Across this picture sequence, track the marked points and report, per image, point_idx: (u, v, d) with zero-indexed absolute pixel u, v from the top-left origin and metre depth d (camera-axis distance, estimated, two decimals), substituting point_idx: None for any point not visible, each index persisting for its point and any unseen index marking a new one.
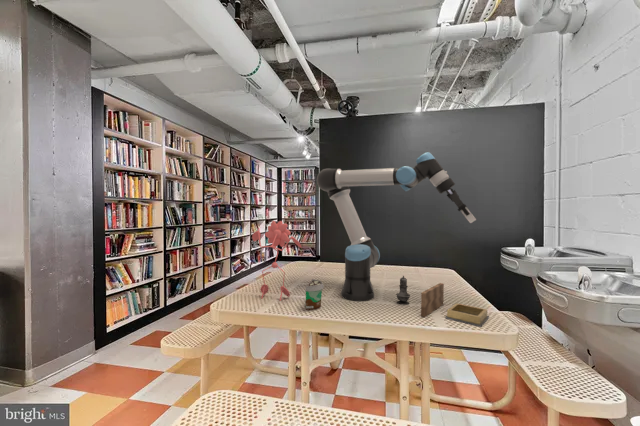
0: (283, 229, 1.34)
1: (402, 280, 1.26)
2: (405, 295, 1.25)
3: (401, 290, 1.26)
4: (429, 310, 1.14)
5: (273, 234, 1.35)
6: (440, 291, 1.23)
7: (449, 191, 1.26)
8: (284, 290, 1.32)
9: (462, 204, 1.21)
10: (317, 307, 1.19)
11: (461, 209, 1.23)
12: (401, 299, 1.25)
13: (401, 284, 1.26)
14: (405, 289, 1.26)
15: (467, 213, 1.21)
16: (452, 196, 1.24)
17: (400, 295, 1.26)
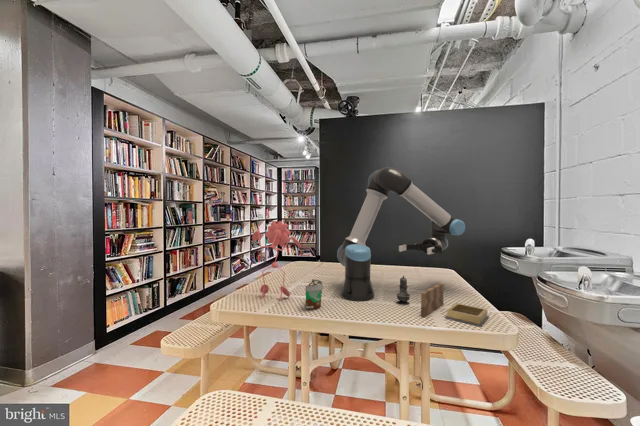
0: (283, 229, 1.34)
1: (402, 280, 1.26)
2: (405, 295, 1.25)
3: (401, 290, 1.26)
4: (429, 310, 1.14)
5: (273, 234, 1.35)
6: (440, 291, 1.23)
7: None
8: (284, 290, 1.32)
9: (441, 251, 1.34)
10: (317, 307, 1.19)
11: (436, 248, 1.34)
12: (401, 299, 1.25)
13: (401, 284, 1.26)
14: (405, 289, 1.26)
15: (434, 251, 1.32)
16: None
17: (400, 295, 1.26)
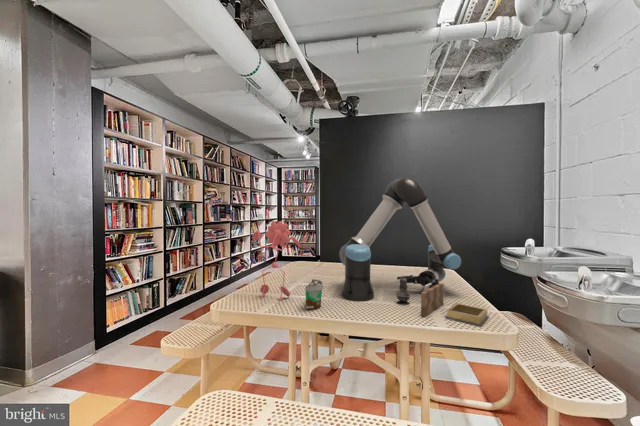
0: (283, 229, 1.34)
1: (402, 280, 1.26)
2: (405, 295, 1.25)
3: (401, 290, 1.26)
4: (429, 310, 1.14)
5: (273, 234, 1.35)
6: (440, 291, 1.23)
7: None
8: (284, 290, 1.32)
9: None
10: (317, 307, 1.19)
11: (434, 284, 1.31)
12: (401, 299, 1.25)
13: (401, 284, 1.26)
14: (405, 289, 1.26)
15: None
16: None
17: (400, 295, 1.26)
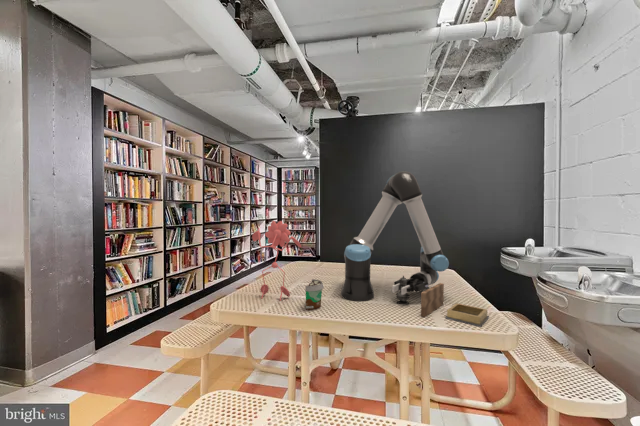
0: (283, 229, 1.34)
1: (402, 280, 1.26)
2: (405, 295, 1.25)
3: None
4: (429, 310, 1.14)
5: (273, 234, 1.35)
6: (440, 291, 1.23)
7: (427, 285, 1.31)
8: (284, 290, 1.32)
9: (417, 290, 1.26)
10: (317, 307, 1.19)
11: (411, 286, 1.26)
12: (401, 299, 1.25)
13: (401, 284, 1.26)
14: None
15: (409, 290, 1.24)
16: (423, 285, 1.29)
17: (400, 295, 1.26)
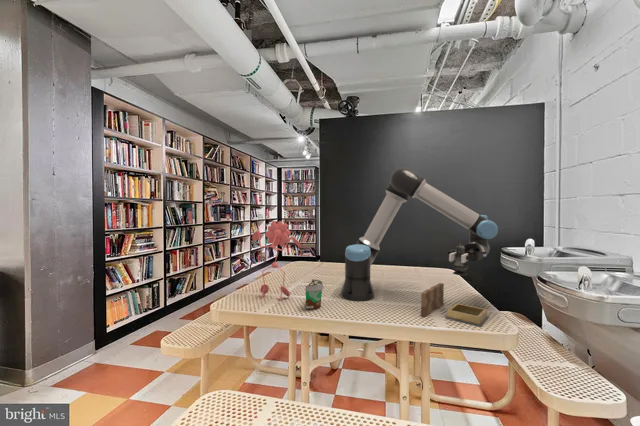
0: (283, 229, 1.34)
1: (460, 247, 1.12)
2: (464, 264, 1.11)
3: (458, 259, 1.12)
4: (429, 310, 1.14)
5: (273, 234, 1.35)
6: (440, 291, 1.23)
7: (485, 254, 1.16)
8: (284, 290, 1.32)
9: None
10: (317, 307, 1.19)
11: (470, 255, 1.11)
12: (459, 269, 1.11)
13: (458, 252, 1.12)
14: None
15: (469, 258, 1.09)
16: (482, 254, 1.15)
17: (458, 264, 1.11)
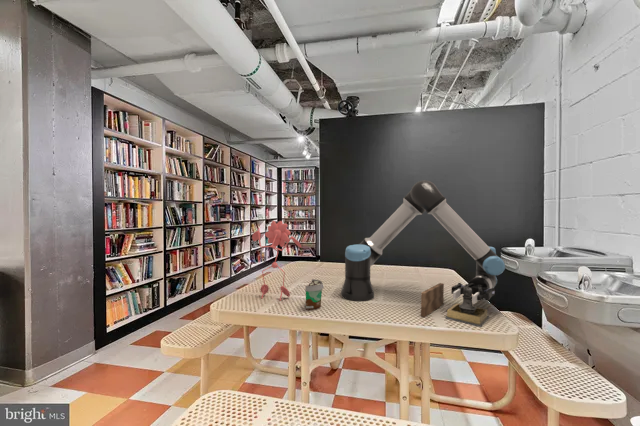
0: (283, 229, 1.34)
1: (467, 290, 1.09)
2: (471, 307, 1.08)
3: (466, 301, 1.09)
4: (429, 310, 1.14)
5: (273, 234, 1.35)
6: (440, 291, 1.23)
7: (494, 291, 1.14)
8: (284, 290, 1.32)
9: (488, 298, 1.08)
10: (317, 307, 1.19)
11: (481, 294, 1.08)
12: (466, 312, 1.08)
13: (466, 294, 1.09)
14: (470, 300, 1.09)
15: (480, 298, 1.06)
16: (491, 292, 1.12)
17: (465, 307, 1.09)
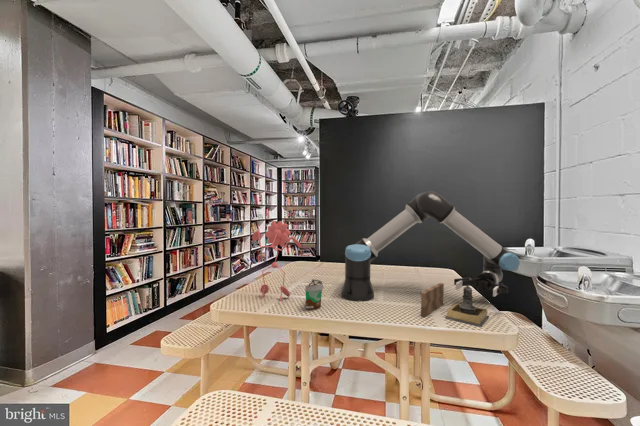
0: (283, 229, 1.34)
1: (467, 290, 1.09)
2: (471, 307, 1.08)
3: (466, 301, 1.09)
4: (429, 310, 1.14)
5: (273, 234, 1.35)
6: (440, 291, 1.23)
7: None
8: (284, 290, 1.32)
9: None
10: (317, 307, 1.19)
11: (501, 288, 1.17)
12: (466, 312, 1.08)
13: (466, 294, 1.09)
14: (470, 300, 1.09)
15: (500, 291, 1.15)
16: None
17: (465, 307, 1.09)
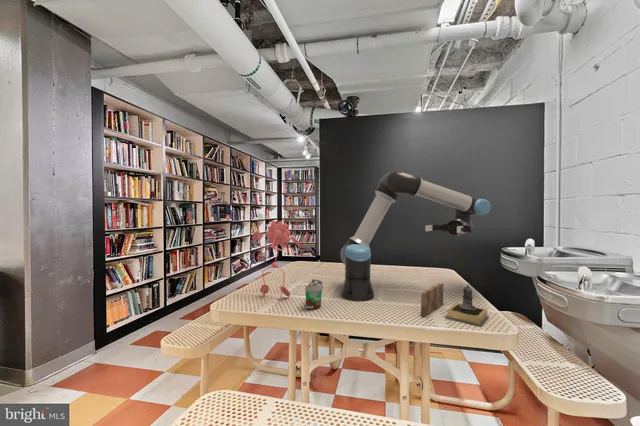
0: (283, 229, 1.34)
1: (467, 290, 1.09)
2: (471, 307, 1.08)
3: (466, 301, 1.09)
4: (429, 310, 1.14)
5: (273, 234, 1.35)
6: (440, 291, 1.23)
7: None
8: (284, 290, 1.32)
9: None
10: (317, 307, 1.19)
11: (465, 227, 1.30)
12: (466, 312, 1.08)
13: (466, 294, 1.09)
14: (470, 300, 1.09)
15: (464, 229, 1.28)
16: None
17: (465, 307, 1.09)
